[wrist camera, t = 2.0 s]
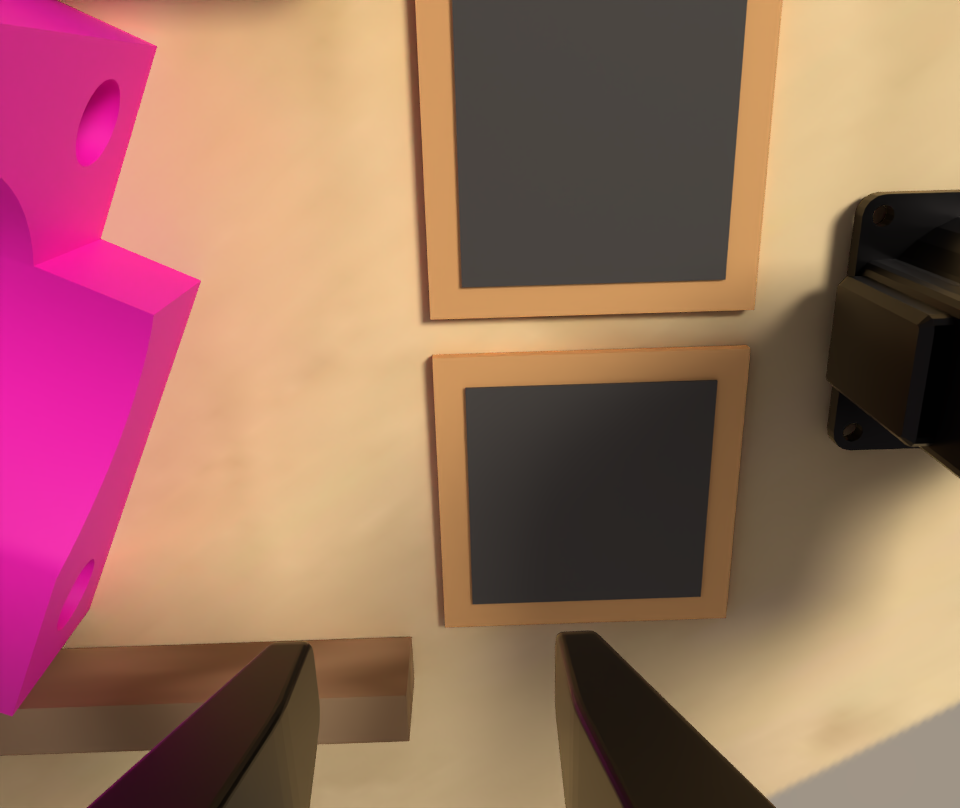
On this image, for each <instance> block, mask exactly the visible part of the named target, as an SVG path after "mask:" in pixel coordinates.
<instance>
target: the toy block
mask: <svg viewBox="0 0 960 808" xmlns="http://www.w3.org/2000/svg"><path fill="white" fill-rule="evenodd" d="M156 48H157V46H155V45H153V44H151V43H148V42H146V41H144V40H142V39H140V38H138V37H135V36H133V35H131V34H129V33H127V32H125V31H122V30H120V29H118V28H116V27H114V26H112V25H109V24H107V23H105V22H103V21H101V20H98V19H96V18H94V17H92V16H90V15H88V14H85V13H83V12H81V11H79V10H77V9H75V8H72V7H70V6H68V5H66V4H64V3H61V2H59V1H57V0H0V713H3V714H6V715H9V716H13V715H14V713H15V712H16V711H17V709H18V708H19V706H20V705H21V704H22V702H23V701H24V700H25V698H26V697H27V695H28V694H29V693H30V691H31V690H32V688H33V687H34V686H35V684H36V683H37V681H38V680H39V679H40V677H41V676H42V675H43V673H44V672H45V670H46V669H47V668H48V666H49V665H50V663H51V662H52V661H53V659H54V658H55V656H56V655H57V654H58V652H59V651H60V650H61V648H62V647H63V645H64V644H65V643H66V641H67V640H68V638H69V637H70V636H71V634H72V633H73V631H74V630H75V629H76V627H77V626H78V625H79V623H80V622H81V620H82V619H83V618H84V616H85V615H86V613H87V612H88V611H89V609H90V606H91V603H92V600H93V597H94V594H95V591H96V588H97V585H98V582H99V579H100V576H101V573H102V570H103V567H104V565H105V562H106V559H107V556H108V553H109V550H110V547H111V544H112V541H113V538H114V535H115V532H116V529H117V526H118V523H119V520H120V518H121V515H122V512H123V509H124V506H125V503H126V500H127V497H128V494H129V491H130V488H131V485H132V482H133V479H134V476H135V473H136V471H137V468H138V465H139V462H140V459H141V456H142V453H143V450H144V447H145V444H146V441H147V438H148V435H149V432H150V429H151V426H152V423H153V421H154V418H155V415H156V412H157V409H158V406H159V403H160V400H161V397H162V394H163V391H164V388H165V385H166V382H167V379H168V376H169V374H170V371H171V368H172V365H173V362H174V359H175V356H176V353H177V350H178V347H179V344H180V341H181V338H182V335H183V332H184V329H185V327H186V324H187V321H188V318H189V315H190V312H191V309H192V306H193V303H194V300H195V297H196V294H197V291H198V288H199V285H200V282H201V281H200V280H198V279H196V278H193V277H191V276H188V275H186V274H184V273H181V272H179V271H176V270H174V269H172V268H169V267H167V266H164V265H162V264H160V263H157V262H155V261H152V260H150V259H148V258H145V257H143V256H140V255H138V254H136V253H133V252H131V251H128V250H126V249H124V248H121V247H119V246H117V245H114V244H112V243H109V242H107V241H105V240H102V239H101V236H102V232H103V229H104V225H105V222H106V219H107V215H108V212H109V208H110V205H111V202H112V198H113V195H114V191H115V188H116V184H117V181H118V178H119V174H120V171H121V167H122V164H123V161H124V157H125V154H126V150H127V147H128V144H129V140H130V137H131V133H132V130H133V127H134V123H135V120H136V116H137V113H138V110H139V106H140V103H141V99H142V96H143V93H144V89H145V86H146V82H147V79H148V76H149V72H150V69H151V65H152V62H153V58H154V55H155V52H156Z"/></svg>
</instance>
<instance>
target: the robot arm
mask: <svg viewBox="0 0 960 808" xmlns="http://www.w3.org/2000/svg"><path fill="white" fill-rule="evenodd" d="M882 205H884V206H885V207H886V216H885V218H884V219H883V220H882V221H881V222H880V223H878V224H875V223H874V222H873V214H874V211H875V210H876V209H877V208H878V207H879V206H882ZM826 379H827V381H828V382H829V383H830V384H831V385H832V386H833V387H832V394H831V402H830V410H829V418H828V425H827V430H828V435H829V437H830V438H831V440H832V441H833V442H834V443H836V444H837V445H838V446H839V447H841V448H842V449H846V450H871V449H903V448H921V449H923V450H924V451H925V452H926V453H928V454H929V455H930V456H931V457H933V458H934V459H935V460H937V461H938V462H939V463H940V464H942V465H943V466H944V467H946V468H947V469H948V470H949V471H951V472H952V473H953V474H955V475H956V476H957V477H958V478H960V190H933V191H898V192H877V193H872V194H870V195H868V196H867V197H865V198H863V199H862V201H861V202H860V203H859V205H858V206H857V209H856V212H855V217H854V225H853V233H852V240H851V248H850V256H849V264H848V271H847V277H845V279H844V280H843V281H842V282H841V283H840V284H839V285H838V287H837V294H836V302H835V310H834V318H833V326H832V334H831V342H830V349H829V357H828V365H827V373H826ZM853 423H856V428H855V430H854V431H853V432H852V433H851V434H849V435H846V436H844V435H843V431H844V429H845V427H847V426H848V425H849V424H853ZM555 709H556V721H557V730H558V740H559V749H560V759H561V768H562V778H563V787H564V797H565V806H566V808H776V807H775V806H774V805H773V804H772V803H771V802H770V801H769V800H768V799H767V798H766V797H765V796H764V795H763V794H762V793H761V792H760V791H759V790H758V789H757V788H756V787H754V786H753V785H752V784H751V783H750V782H749V781H748V780H747V779H746V778H745V777H744V776H743V775H742V774H741V773H740V772H739V771H738V770H737V769H736V768H735V767H734V766H733V765H732V764H731V763H730V762H729V761H728V760H727V759H726V758H725V757H724V756H723V755H722V754H721V753H720V752H719V751H718V750H717V749H715V748H714V747H713V746H712V745H711V744H710V743H709V742H708V741H707V740H706V739H705V738H704V737H703V736H702V735H701V734H700V733H699V732H698V731H697V730H696V729H695V728H694V727H693V726H692V725H691V724H690V723H689V722H688V721H687V720H686V719H685V718H684V717H683V716H682V715H681V714H680V713H679V712H678V711H677V710H675V709H674V708H673V707H672V706H671V705H670V704H669V703H668V702H667V701H666V700H665V699H664V698H663V697H662V696H661V695H660V694H659V693H658V692H657V691H656V690H655V689H654V688H653V687H652V686H651V685H650V684H649V683H648V682H647V681H646V680H645V679H644V678H643V677H642V676H641V675H640V674H639V673H638V672H636V671H635V670H634V669H633V668H632V667H631V666H630V665H629V664H628V663H627V662H626V661H625V660H624V659H623V658H622V657H621V656H620V655H619V654H618V653H617V652H616V651H615V650H614V649H613V648H612V647H611V646H610V645H609V644H608V643H607V642H606V641H605V640H604V639H603V638H602V637H601V636H600V635H598V634H597V633H596V632H594V631H572V632H560V633H559V634H558V635H557V637H556V643H555ZM319 726H320V703H319V694H318V685H317V677H316V668H315V660H314V652H313V648H312V646H311V645H310V643H308V642H307V641H294V642H274V643H272V644H270V645H269V646H267V647H266V648H265V649H264V650H263V651H262V652H260V653H259V654H258V655H257V656H256V657H255V658H254V659H253V660H251V661H250V662H249V663H248V664H247V665H246V666H245V667H244V668H243V669H241V670H240V671H239V672H238V673H237V674H236V675H235V676H234V677H232V678H231V679H230V680H229V681H228V682H227V683H226V684H225V685H224V686H222V687H221V688H220V689H219V690H218V691H217V692H216V693H215V694H213V695H212V696H211V697H210V698H209V699H208V700H207V701H206V702H205V703H203V704H202V705H201V706H200V707H199V708H198V709H197V710H196V711H194V712H193V713H192V714H191V715H190V716H189V717H188V718H187V719H186V720H184V721H183V722H182V723H181V724H180V725H179V726H178V727H177V728H175V729H174V730H173V731H172V732H171V733H170V734H169V735H168V736H167V737H165V738H164V739H163V740H162V741H161V742H160V743H159V744H158V745H156V746H155V747H154V748H153V749H152V750H151V751H150V752H149V753H148V754H146V755H145V756H144V757H143V758H142V759H141V760H140V761H139V762H137V763H136V764H135V765H134V766H133V767H132V768H131V769H130V770H129V771H127V772H126V773H125V774H124V775H123V776H122V777H121V778H120V779H118V780H117V781H116V782H115V783H114V784H113V785H112V786H111V787H110V788H108V789H107V790H106V791H105V792H104V793H103V794H102V795H101V796H99V797H98V798H97V799H96V800H95V801H94V802H93V803H92V804H91V805H89V806H88V807H87V808H309V807H310V799H311V791H312V783H313V775H314V767H315V759H316V751H317V743H318V735H319Z"/></svg>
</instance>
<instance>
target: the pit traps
mask: <svg viewBox="0 0 960 808" xmlns="http://www.w3.org/2000/svg"><path fill="white" fill-rule="evenodd" d="M415 10H416V30H417V51H418V72H419V93H420V114H421V135H422V156H423V176H424V197H425V218H426V239H427V260H428V281H429V301H430V320H433V319H466V318H499V317H532V316H565V315H598V314H631V313H664V312H697V311H730V310H754V306H755V295H756V284H757V273H758V262H759V251H760V240H761V229H762V218H763V208H764V197H765V186H766V175H767V164H768V153H769V142H770V131H771V120H772V109H773V99H774V88H775V77H776V66H777V55H778V44H779V33H780V22H781V11H782V0H415ZM749 360H750V348H749V347H748V346H747V345H736V346H704V347H671V348H639V349H606V350H574V351H541V352H509V353H476V354H444V355H433V356H432V364H433V385H434V406H435V427H436V447H437V468H438V489H439V510H440V531H441V552H442V573H443V593H444V614H445V627H473V626H502V625H531V624H561V623H590V622H619V621H649V620H678V619H707V618H726V611H727V600H728V589H729V578H730V567H731V556H732V545H733V535H734V524H735V513H736V502H737V491H738V480H739V469H740V458H741V447H742V436H743V426H744V415H745V404H746V393H747V382H748V371H749Z"/></svg>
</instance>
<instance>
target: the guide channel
mask: <svg viewBox="0 0 960 808" xmlns="http://www.w3.org/2000/svg"><path fill="white" fill-rule="evenodd" d="M278 642H294V641H278ZM307 642H308V643H310V645H311V646H312V648H313V652H314V660H315V668H316V677H317V685H318V694H319V703H320V726H319V735H318V743H317V744H341V743H369V742H397V741H409V738H410V726H411V713H412V701H413V688H414V668H413V653H412V638H411V637H395V638H366V639H337V640H308V641H307ZM272 643H274V642H249V643H220V644H191V645H162V646H132V647H103V648H74V649H61V650H60V651H59V652H58V654H57V655H56V656H55V658H54V659H53V661H52V662H51V663H50V665H49V666H48V668H47V669H46V670H45V672H44V673H43V675H42V676H41V677H40V679H39V680H38V681H37V683H36V684H35V686H34V687H33V688H32V690H31V691H30V693H29V694H28V695H27V697H26V698H25V700H24V701H23V702H22V704H21V705H20V706H19V708H18V709H17V711H16V712H15V713H14V715H13V716H9V715H6V714H3V713H0V756H3V755H31V754H59V753H87V752H116V751H144V750H152V749H153V748H154V747H155V746H156V745H158V744H159V743H160V742H161V741H162V740H163V739H164V738H165V737H167V736H168V735H169V734H170V733H171V732H172V731H173V730H174V729H175V728H177V727H178V726H179V725H180V724H181V723H182V722H183V721H184V720H186V719H187V718H188V717H189V716H190V715H191V714H192V713H193V712H194V711H196V710H197V709H198V708H199V707H200V706H201V705H202V704H203V703H205V702H206V701H207V700H208V699H209V698H210V697H211V696H212V695H213V694H215V693H216V692H217V691H218V690H219V689H220V688H221V687H222V686H224V685H225V684H226V683H227V682H228V681H229V680H230V679H231V678H232V677H234V676H235V675H236V674H237V673H238V672H239V671H240V670H241V669H243V668H244V667H245V666H246V665H247V664H248V663H249V662H250V661H251V660H253V659H254V658H255V657H256V656H257V655H258V654H259V653H260V652H262V651H263V650H264V649H265V648H266V647H267V646H269V645H270V644H272Z"/></svg>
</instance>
